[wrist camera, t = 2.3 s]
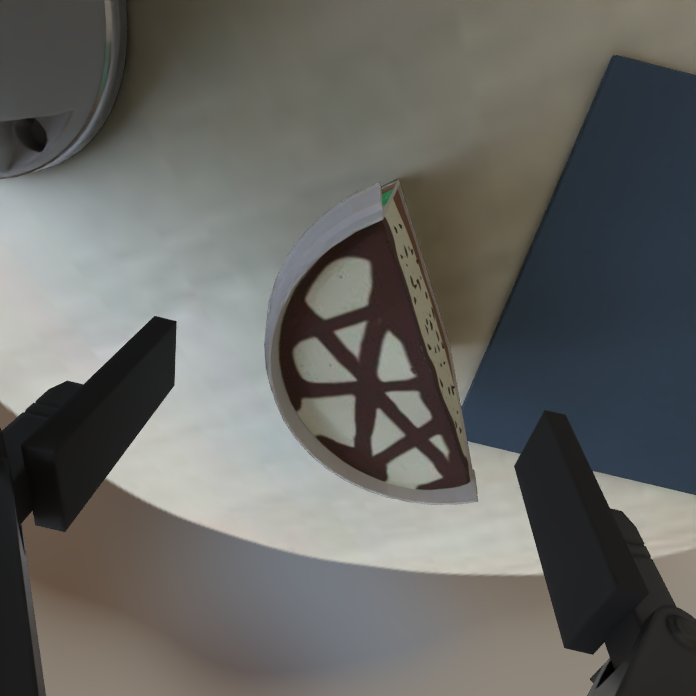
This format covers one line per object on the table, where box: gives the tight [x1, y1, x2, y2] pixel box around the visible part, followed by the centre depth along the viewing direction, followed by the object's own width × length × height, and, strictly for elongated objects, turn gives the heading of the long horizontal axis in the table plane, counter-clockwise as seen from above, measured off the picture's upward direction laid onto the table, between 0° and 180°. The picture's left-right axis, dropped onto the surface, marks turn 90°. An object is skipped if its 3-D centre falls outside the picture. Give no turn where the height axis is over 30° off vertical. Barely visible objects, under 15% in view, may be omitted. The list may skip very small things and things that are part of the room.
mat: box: [461, 55, 696, 495], centre depth 24 cm, size 16×20×1 cm
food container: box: [264, 179, 478, 505], centre depth 21 cm, size 12×6×10 cm, turn 20°
